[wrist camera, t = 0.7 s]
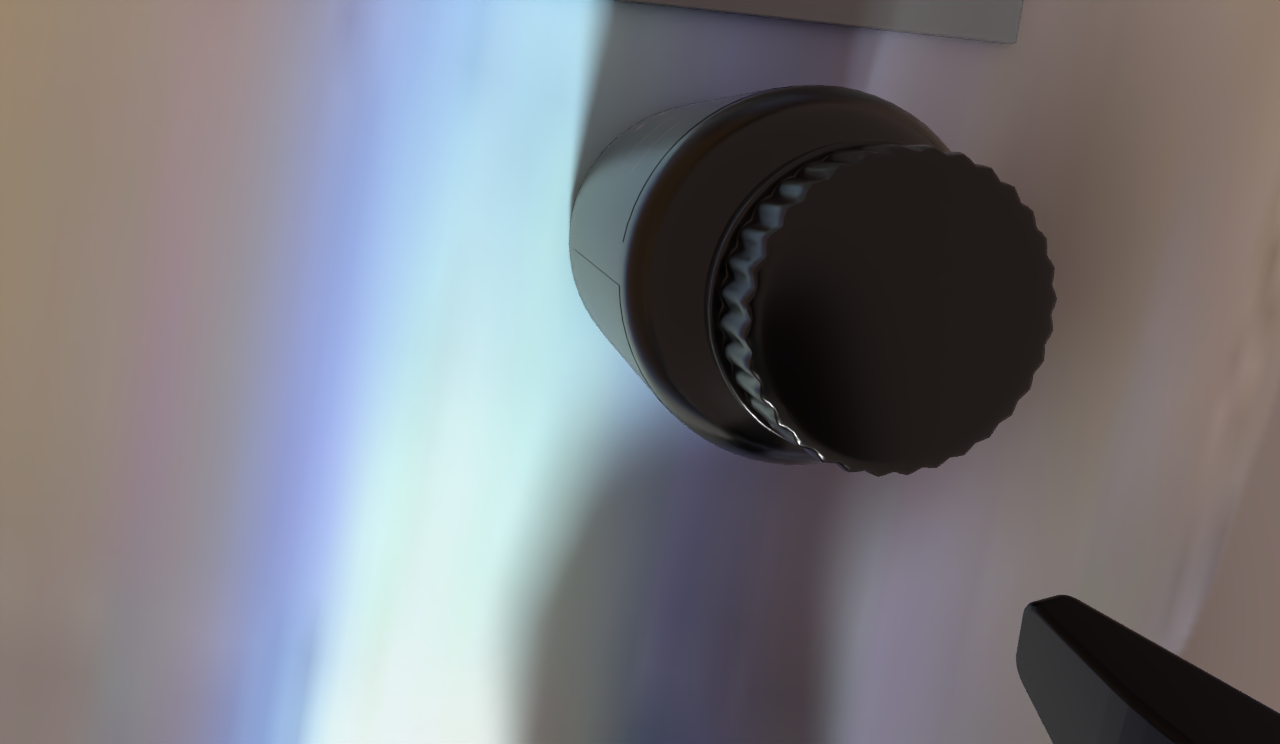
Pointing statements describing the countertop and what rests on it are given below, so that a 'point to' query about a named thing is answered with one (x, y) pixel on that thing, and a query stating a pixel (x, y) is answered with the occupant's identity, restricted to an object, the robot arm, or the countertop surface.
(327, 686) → the countertop surface
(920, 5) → the metal sheet
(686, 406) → the supplement bottle
